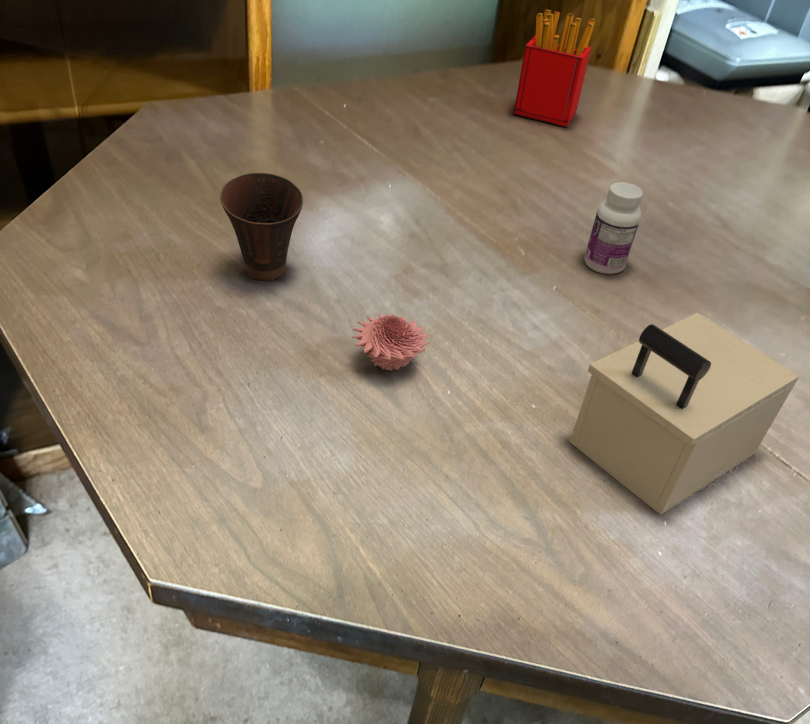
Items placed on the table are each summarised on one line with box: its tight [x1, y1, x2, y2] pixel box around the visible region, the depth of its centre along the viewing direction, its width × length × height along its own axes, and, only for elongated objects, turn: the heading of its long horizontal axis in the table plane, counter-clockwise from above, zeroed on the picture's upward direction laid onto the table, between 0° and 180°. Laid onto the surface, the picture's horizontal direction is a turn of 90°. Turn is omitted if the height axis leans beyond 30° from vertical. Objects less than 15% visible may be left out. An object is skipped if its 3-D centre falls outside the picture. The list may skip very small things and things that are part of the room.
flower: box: [351, 313, 430, 372], centre depth 79 cm, size 8×8×6 cm
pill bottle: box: [584, 181, 644, 275], centre depth 94 cm, size 5×5×10 cm
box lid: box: [587, 312, 800, 446], centre depth 67 cm, size 15×12×6 cm
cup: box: [219, 172, 304, 282], centre depth 86 cm, size 9×9×10 cm
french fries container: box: [513, 9, 597, 128], centre depth 123 cm, size 7×9×14 cm
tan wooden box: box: [569, 374, 796, 516], centre depth 72 cm, size 15×12×9 cm
